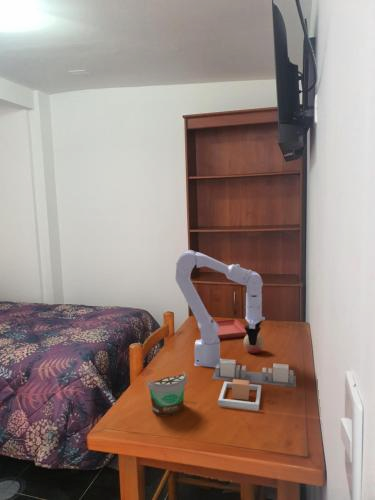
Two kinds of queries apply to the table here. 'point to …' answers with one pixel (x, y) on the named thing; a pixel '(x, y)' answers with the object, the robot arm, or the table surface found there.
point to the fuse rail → (256, 376)
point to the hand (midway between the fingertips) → (253, 341)
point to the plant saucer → (230, 329)
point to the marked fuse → (240, 389)
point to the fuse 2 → (280, 372)
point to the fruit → (253, 348)
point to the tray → (239, 404)
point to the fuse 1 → (227, 367)
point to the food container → (167, 395)
